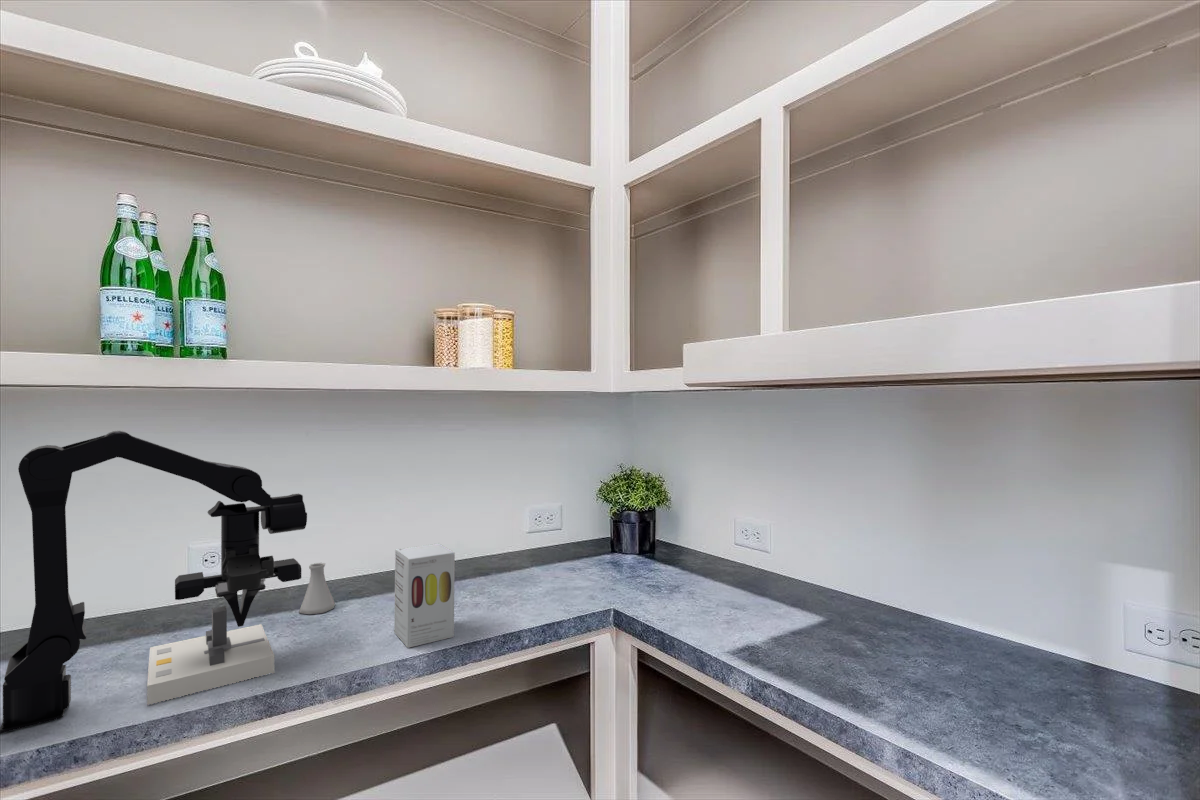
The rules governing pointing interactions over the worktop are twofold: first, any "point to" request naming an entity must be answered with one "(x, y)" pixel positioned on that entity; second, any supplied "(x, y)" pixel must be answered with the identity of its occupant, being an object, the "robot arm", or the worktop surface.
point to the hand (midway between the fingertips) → (240, 625)
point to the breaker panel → (207, 663)
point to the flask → (317, 592)
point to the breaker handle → (219, 629)
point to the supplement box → (424, 594)
